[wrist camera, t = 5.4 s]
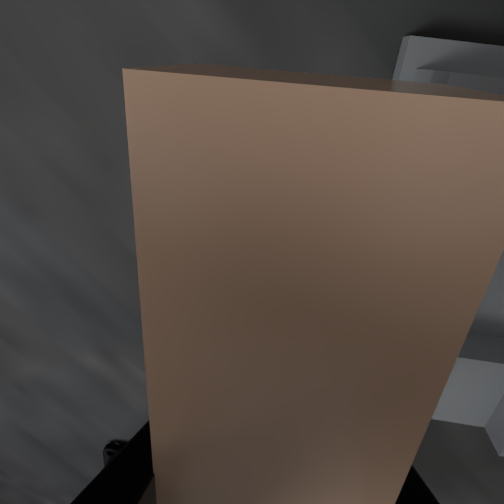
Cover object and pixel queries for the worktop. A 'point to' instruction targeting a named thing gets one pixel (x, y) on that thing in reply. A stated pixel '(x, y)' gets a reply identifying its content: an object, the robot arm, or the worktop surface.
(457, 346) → the clay bar
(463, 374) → the grey cradle stand
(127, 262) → the worktop surface
